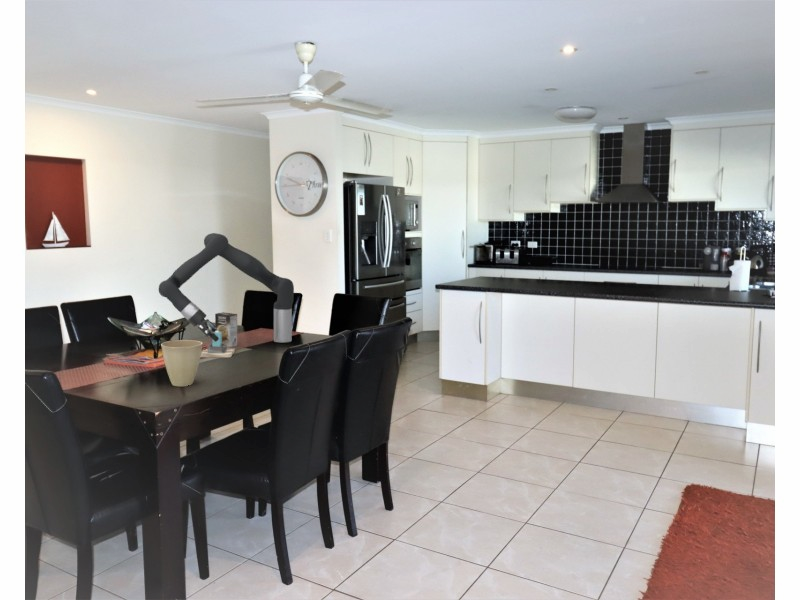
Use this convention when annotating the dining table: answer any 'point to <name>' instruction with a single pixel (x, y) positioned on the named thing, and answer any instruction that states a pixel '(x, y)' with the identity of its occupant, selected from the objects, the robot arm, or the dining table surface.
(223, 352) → the board
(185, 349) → the plant pot
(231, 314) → the coffee box
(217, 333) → the teal block
